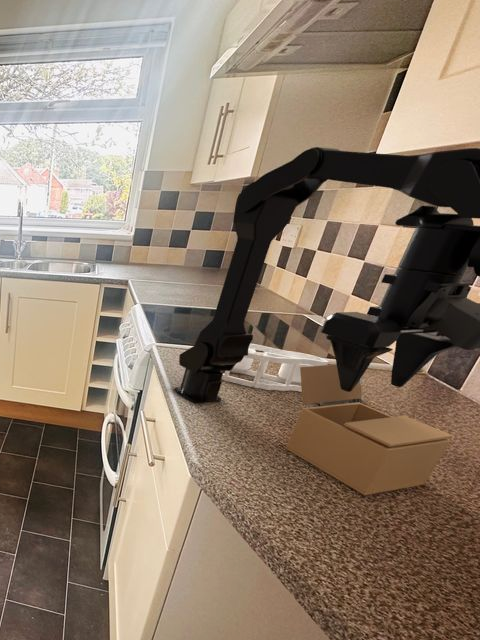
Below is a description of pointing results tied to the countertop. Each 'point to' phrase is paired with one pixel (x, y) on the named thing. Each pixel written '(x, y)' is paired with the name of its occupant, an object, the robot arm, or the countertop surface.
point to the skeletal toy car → (287, 371)
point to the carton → (367, 446)
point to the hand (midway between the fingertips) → (371, 388)
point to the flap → (324, 385)
